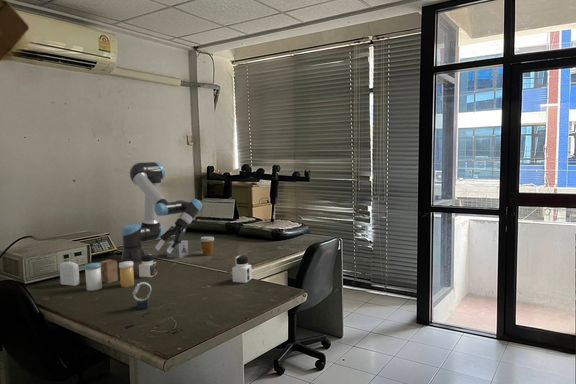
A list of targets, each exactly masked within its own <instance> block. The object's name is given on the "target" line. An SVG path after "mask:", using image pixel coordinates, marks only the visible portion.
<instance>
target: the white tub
mask: <svg viewBox="0 0 576 384" xmlns="http://www.w3.org/2000/svg"><path fill="white" fill-rule="evenodd" d="M84 271H85V274H84V275H85V285H86V291H88V292H90V291H98V290H100V289H102V288H103V284H102V283H103V282H102V281H101V263H100V262H91V263H87V264H86V263H85V265H84Z"/></svg>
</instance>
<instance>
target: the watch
mask: <svg viewBox="0 0 576 384" xmlns="http://www.w3.org/2000/svg"><path fill="white" fill-rule="evenodd" d="M141 285H146V286H147V287H148V288H149V292H148V294H147V295H146V297H145V298H138V297H137V296H136V295H137V293H138V291H139V290H140V288H141ZM151 293H152V286H151V284H150V283H148V282H145V281H140V282H139V283H136V285H135V287H134V289H133V291H132V293H131V294H132V296H133V298H134V299H135V301H137V302H136V304H137V305H136V306H137V308H136V309H137V311H138V310H139V311H141V310H147V309H149V305H150V304H149V301H150V300H149V299H150V297H151Z"/></svg>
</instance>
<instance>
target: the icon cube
mask: <svg viewBox="0 0 576 384" xmlns="http://www.w3.org/2000/svg"><path fill="white" fill-rule="evenodd" d="M179 241H180V240H179ZM172 242H174V240H171V241H167V242H166V250H167V249H168V248H169V246H170V245H171V244H172ZM166 255H167V256H166V257H167V258H170V259H171V258H173V259H181V258H183V257H186V256H189V240H188V239H187V240H183V239H182V241H181V243H180V244H179V243H178V244H177V245H176V246H175V248H174V249H173V250H172V252H171V253H168V252H167V251H166Z"/></svg>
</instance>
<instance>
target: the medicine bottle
mask: <svg viewBox="0 0 576 384" xmlns="http://www.w3.org/2000/svg"><path fill="white" fill-rule="evenodd" d="M157 266H158V265H157V261H154V255H153V254H151V253H148V254H147V253H146V254H145V255H143V256H142V260H141V263H140V264H138V274H139V275H138V276H139V278H153V277H154V276H156V275H157V274H158V269H157V268H158V267H157Z"/></svg>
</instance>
